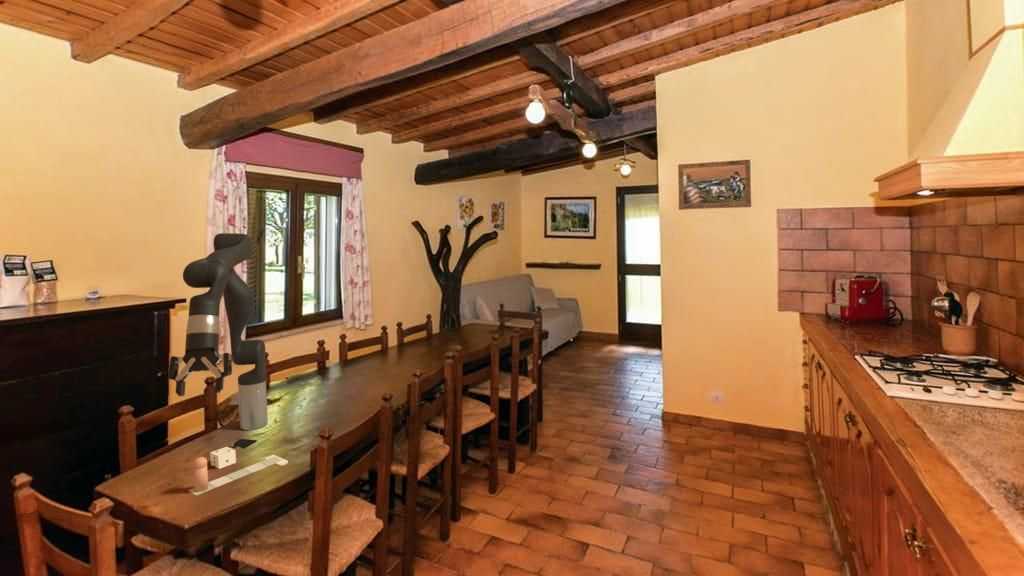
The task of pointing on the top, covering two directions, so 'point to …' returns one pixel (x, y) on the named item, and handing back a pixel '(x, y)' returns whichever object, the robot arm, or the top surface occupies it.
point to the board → (243, 472)
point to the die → (223, 457)
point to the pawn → (200, 474)
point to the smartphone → (243, 443)
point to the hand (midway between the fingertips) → (199, 394)
